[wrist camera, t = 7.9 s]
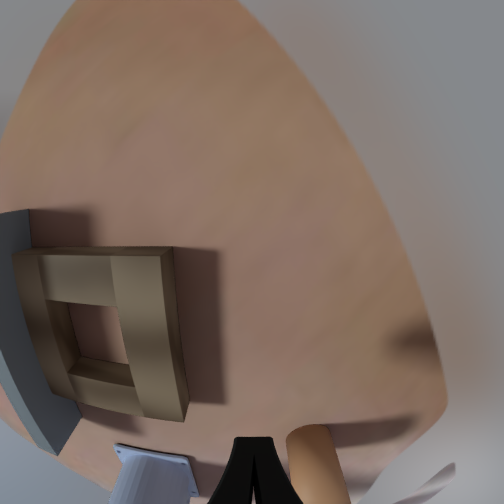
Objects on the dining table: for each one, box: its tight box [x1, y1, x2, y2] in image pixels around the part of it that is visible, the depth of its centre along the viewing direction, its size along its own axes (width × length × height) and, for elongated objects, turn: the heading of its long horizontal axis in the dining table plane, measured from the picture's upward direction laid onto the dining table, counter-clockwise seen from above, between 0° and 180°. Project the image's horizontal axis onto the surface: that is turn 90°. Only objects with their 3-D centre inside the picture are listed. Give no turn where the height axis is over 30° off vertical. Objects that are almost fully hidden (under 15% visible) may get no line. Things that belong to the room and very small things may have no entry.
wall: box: [0, 209, 82, 456], centre depth 15 cm, size 20×2×6 cm, turn 0°
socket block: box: [11, 247, 190, 422], centre depth 16 cm, size 12×12×2 cm
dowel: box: [286, 424, 351, 504], centre depth 16 cm, size 4×4×8 cm
